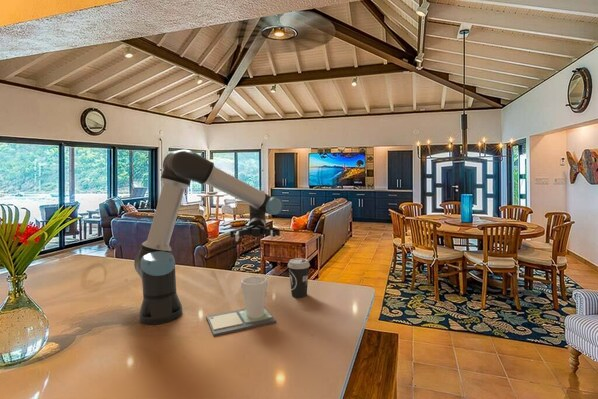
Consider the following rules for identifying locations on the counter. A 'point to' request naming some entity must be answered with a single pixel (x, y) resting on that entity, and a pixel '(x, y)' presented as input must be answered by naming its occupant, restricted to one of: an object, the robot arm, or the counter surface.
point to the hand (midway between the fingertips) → (254, 237)
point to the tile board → (237, 321)
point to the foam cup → (254, 295)
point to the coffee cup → (298, 276)
